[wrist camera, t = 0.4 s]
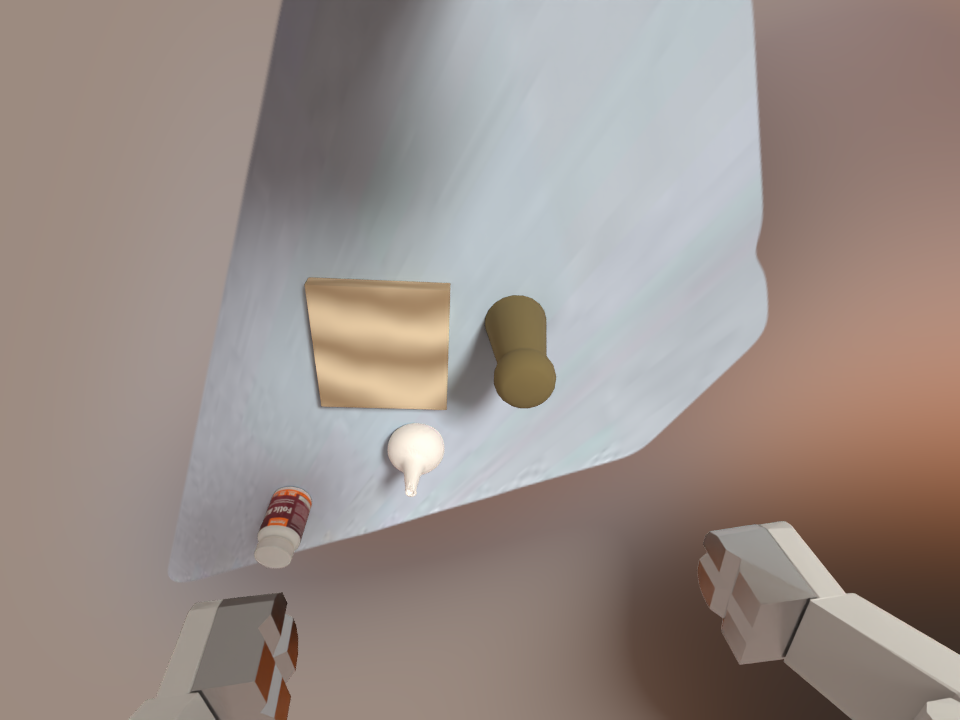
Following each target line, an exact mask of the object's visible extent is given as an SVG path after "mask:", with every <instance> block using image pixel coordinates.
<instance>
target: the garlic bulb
mask: <svg viewBox="0 0 960 720" xmlns="http://www.w3.org/2000/svg"><path fill="white" fill-rule="evenodd" d="M443 455H444V441H443V439H442V437H441V435H440V434H439V432H438V431H437V430H436V429H434V428H433V427H431V426H429V425H426V424H420V423H411V424H407V425H404V426H402V427H400V428H398V429H397V430H396V431H395V432H394V433H393V434H392V436H391V437H390V440H389V443H388V456H389V459H390V461H391V462H392V464H393V465H394V466H395V467H396V468H397V469H398V470H400V471H401V472H403V473H404V480H405V491H406V492H405V494H406V495H407V496H409V497H412V496H415V495H416V494H417V492H416V488H417V485H418V482H419V478H420V476H421V475H422V474H426V473H428V472H430V471H432V470H433V469H435V468H436V467H437V466H438V465H439V463H440V462H441V460H442V458H443Z"/></svg>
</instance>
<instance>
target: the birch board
mask: <svg viewBox="0 0 960 720" xmlns="http://www.w3.org/2000/svg"><path fill="white" fill-rule="evenodd" d="M305 291H306V298H307V306H308V313H309V320H310V327H311V335H312V342H313V349H314V356H315V363H316V371H317V378H318V385H319V392H320V400H321V406H325V407H362V408H398V409H435V410H446V408H447V376H448V343H449V310H450V283H433V282H408V281H384V280H359V279H334V278H310V277H309V278H308V279H307V281H306V283H305Z"/></svg>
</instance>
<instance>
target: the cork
mask: <svg viewBox="0 0 960 720" xmlns="http://www.w3.org/2000/svg"><path fill="white" fill-rule="evenodd" d="M485 328H486V331H487V334H488V337H489V340H490V343H491V346H492V349H493V352H494V355H495V358H496V361H497V366H496V369H495V371H494V385H495V388H496V391H497V393H498V395H499V396H500V397H501V398H502V400H503V401H505V402H506V403H508V404H510V405H511V406H514V407H517V408H531V407H536V406H538V405H540V404H542V403H543V402H544V401H546V400H547V399H548V398H549V397H550V395H551V394H552V392H553V390H554V388H555V382H556V374H555V370H554V366H553V364H552V363H551V361H550V360H549V359H548V357H547V356H546V316H545V312H544V310H543V308H542V307H541V306H540V304H539V303H537V302H536V301H535V300H533V299H532V298H529V297H526V296H516V295H513V296H509V297H505V298H502V299H501V300H499V301H497V302H496V303H494V305H493V306H492V307H491V308H490V309H489V311H488V313H487V315H486V318H485Z"/></svg>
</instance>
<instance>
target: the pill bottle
mask: <svg viewBox="0 0 960 720" xmlns="http://www.w3.org/2000/svg"><path fill="white" fill-rule="evenodd" d="M311 505H312V499H311V497H310V496H309V494H308V493H307V492H306V491H304V490H302V489H300V488H297V487H283V488H280V489H278V490H277V491H276V492H275V493H274V494H273V497H272V500H271V502H270V504H269V507H268V509H267V512H266V515H265V517H264V520H263V523H262V525H261V527H260V530H259V532H258V542H259V543H258V544H257V547H256V550H255V553H254V557H255V559H256V561H257V562H258V563H259V564H261V565H263V566H265V567H268V568H283V567H286V566H287V565H289V564H290V562H291V560H292V557H293V554H294V551H295V550H296V549H297V548H298V547H299V545H300V542H301V539H302V535H303V532H304V529H305V525H306V522H307V518H308V515H309V512H310V509H311Z"/></svg>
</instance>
